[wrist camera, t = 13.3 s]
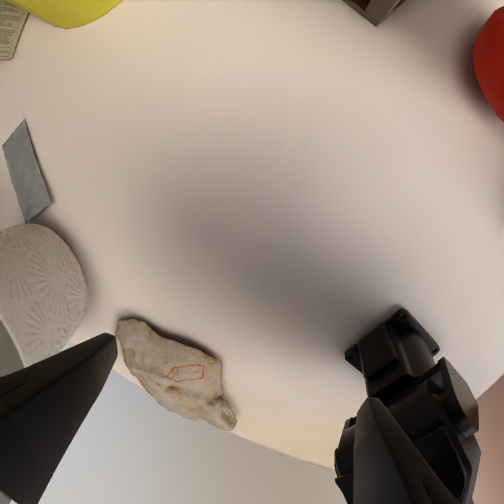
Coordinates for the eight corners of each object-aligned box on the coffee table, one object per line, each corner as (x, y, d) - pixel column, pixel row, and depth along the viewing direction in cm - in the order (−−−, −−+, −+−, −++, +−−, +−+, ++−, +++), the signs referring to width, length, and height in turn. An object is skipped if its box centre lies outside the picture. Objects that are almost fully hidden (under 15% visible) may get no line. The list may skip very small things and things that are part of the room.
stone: (239, 415, 29) (234, 436, 27) (151, 407, 31) (142, 424, 29) (211, 314, 25) (201, 335, 22) (108, 313, 27) (92, 330, 24)
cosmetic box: (-6, 59, 18) (37, -39, 13) (12, 61, 18) (60, -45, 13) (-51, 58, 12) (-2, -53, 7) (-37, 59, 12) (19, -62, 7)
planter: (13, 197, 23) (-70, 236, 13) (104, 233, 23) (9, 299, 13) (21, 297, 28) (-38, 347, 19) (101, 342, 28) (44, 415, 18)
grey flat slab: (25, 117, 20) (28, 117, 20) (2, 144, 22) (5, 144, 22) (48, 205, 22) (52, 204, 22) (23, 225, 24) (26, 223, 24)
